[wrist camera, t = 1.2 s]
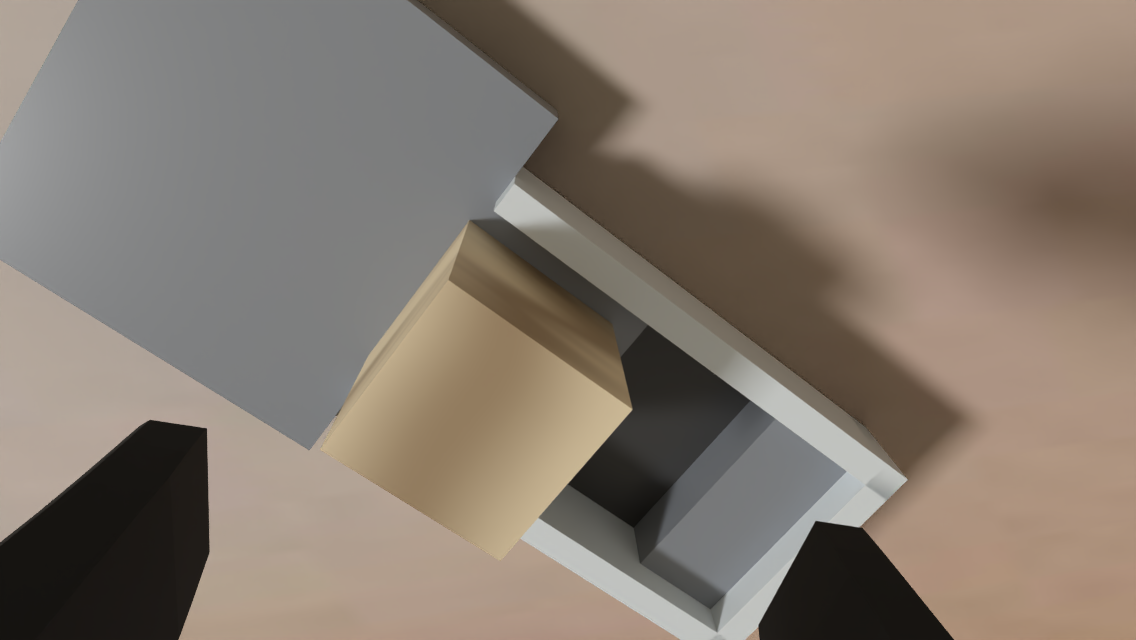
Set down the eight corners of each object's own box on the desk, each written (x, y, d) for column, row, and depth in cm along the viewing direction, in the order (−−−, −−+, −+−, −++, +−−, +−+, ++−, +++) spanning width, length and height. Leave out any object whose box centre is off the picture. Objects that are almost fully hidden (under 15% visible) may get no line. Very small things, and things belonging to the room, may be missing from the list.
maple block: (612, 323, 21) (632, 409, 17) (508, 448, 23) (500, 560, 18) (469, 220, 20) (448, 279, 16) (368, 355, 22) (320, 450, 17)
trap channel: (906, 386, 24) (954, 433, 22) (667, 631, 27) (681, 701, 24) (213, -161, 19) (156, -193, 16) (2, 212, 22) (-77, 240, 19)
